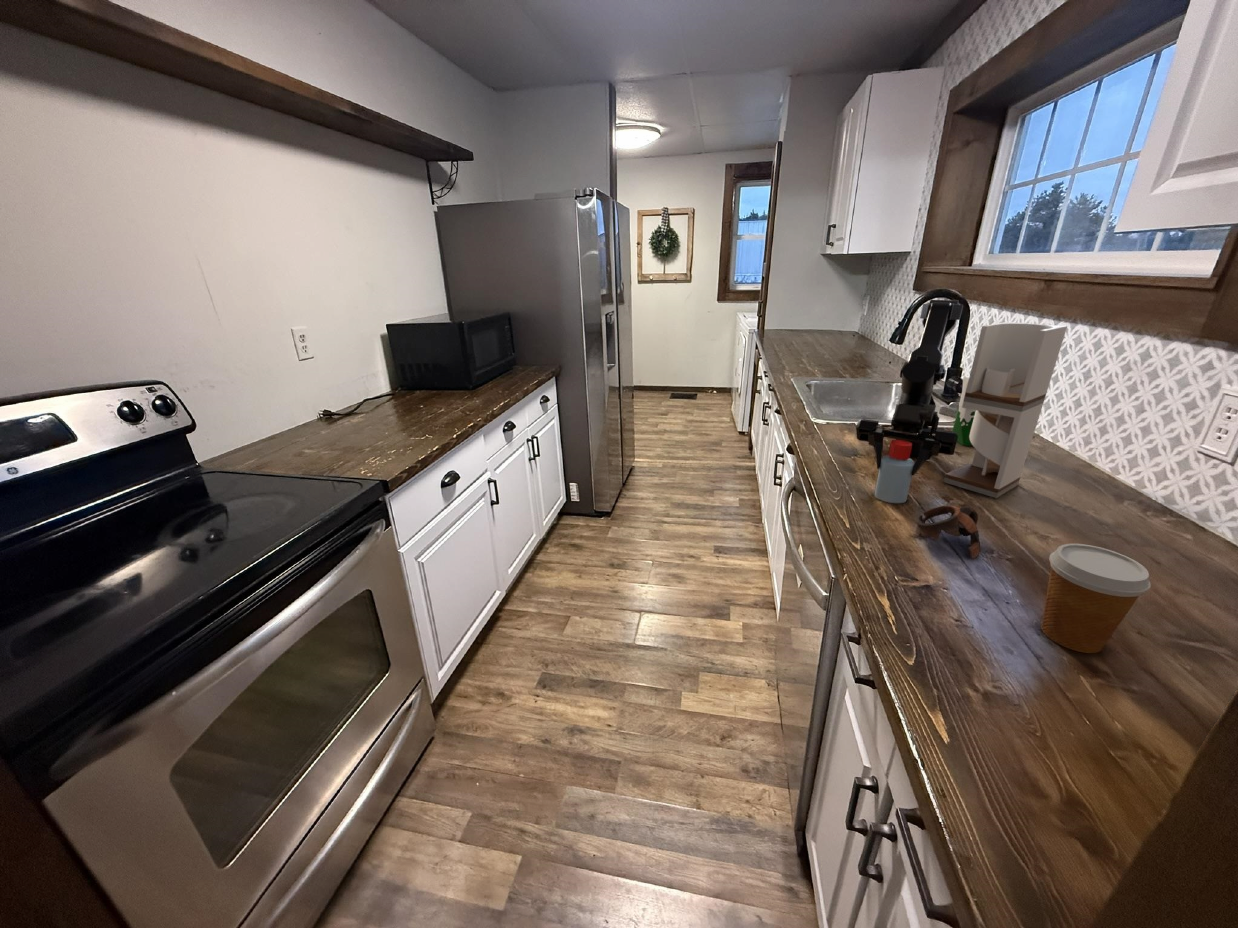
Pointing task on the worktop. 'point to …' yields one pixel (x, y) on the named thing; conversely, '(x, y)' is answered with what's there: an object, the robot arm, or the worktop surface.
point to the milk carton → (964, 418)
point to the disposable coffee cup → (1090, 595)
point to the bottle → (894, 479)
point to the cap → (900, 449)
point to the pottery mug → (951, 525)
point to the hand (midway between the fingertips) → (894, 471)
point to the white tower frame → (1006, 402)
